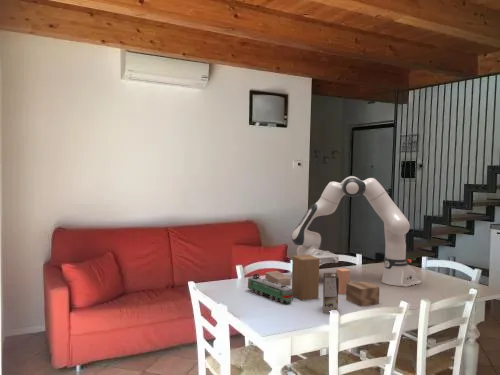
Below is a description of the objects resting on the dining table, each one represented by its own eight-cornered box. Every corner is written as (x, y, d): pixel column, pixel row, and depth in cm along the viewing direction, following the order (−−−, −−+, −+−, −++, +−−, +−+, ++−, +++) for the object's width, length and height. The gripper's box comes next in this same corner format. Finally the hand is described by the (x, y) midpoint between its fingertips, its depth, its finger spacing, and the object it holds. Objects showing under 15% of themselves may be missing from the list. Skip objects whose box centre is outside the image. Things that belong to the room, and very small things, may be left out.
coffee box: (338, 313, 190) (339, 277, 190) (323, 313, 191) (324, 277, 190) (336, 307, 199) (337, 272, 199) (322, 306, 200) (323, 272, 199)
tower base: (364, 297, 216) (364, 281, 215) (379, 303, 206) (379, 287, 205) (346, 299, 211) (346, 283, 211) (360, 306, 201) (360, 289, 201)
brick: (291, 285, 236) (291, 277, 236) (278, 287, 232) (278, 278, 232) (277, 278, 251) (277, 270, 251) (264, 279, 248) (264, 271, 247)
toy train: (253, 289, 227) (253, 270, 227) (294, 304, 203) (295, 283, 203) (245, 290, 224) (246, 271, 224) (287, 306, 200) (287, 284, 200)
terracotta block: (343, 290, 226) (344, 268, 226) (349, 293, 222) (350, 270, 221) (335, 291, 224) (336, 269, 224) (341, 294, 220) (342, 271, 219)
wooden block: (291, 294, 218) (292, 255, 217) (308, 292, 222) (309, 254, 221) (300, 300, 209) (301, 259, 208) (318, 298, 212) (319, 258, 212)
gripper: (299, 252, 242) (313, 257, 229) (330, 250, 250) (344, 255, 238) (299, 263, 242) (312, 268, 230) (329, 261, 251) (344, 266, 238)
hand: (329, 262), depth 234 cm, fingers open, 8 cm apart
